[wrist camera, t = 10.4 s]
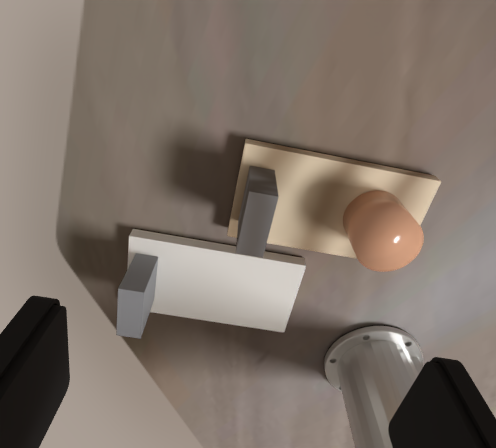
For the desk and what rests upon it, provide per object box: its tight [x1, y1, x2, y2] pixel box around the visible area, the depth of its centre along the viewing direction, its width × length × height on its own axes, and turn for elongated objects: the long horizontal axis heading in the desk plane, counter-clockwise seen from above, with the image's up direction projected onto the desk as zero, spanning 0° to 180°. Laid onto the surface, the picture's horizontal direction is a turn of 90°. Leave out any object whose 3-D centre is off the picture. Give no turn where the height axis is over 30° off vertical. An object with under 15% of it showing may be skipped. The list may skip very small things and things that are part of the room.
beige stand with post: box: [227, 139, 441, 258], centre depth 35 cm, size 19×10×8 cm, turn 79°
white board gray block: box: [117, 229, 306, 339], centre depth 40 cm, size 19×10×8 cm, turn 79°
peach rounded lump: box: [343, 190, 424, 272], centre depth 35 cm, size 6×6×5 cm
